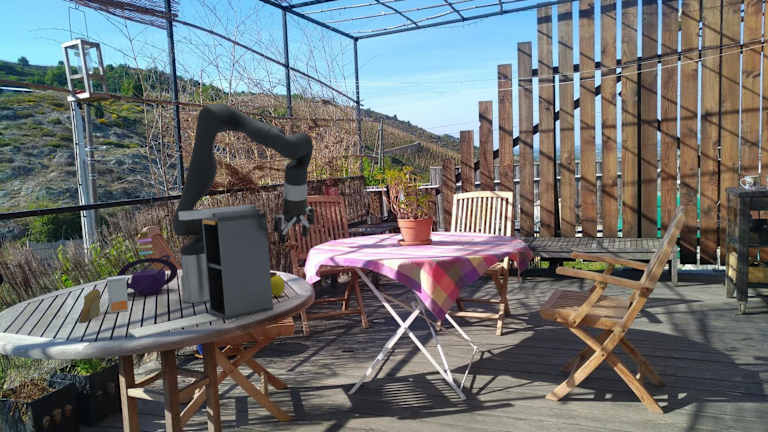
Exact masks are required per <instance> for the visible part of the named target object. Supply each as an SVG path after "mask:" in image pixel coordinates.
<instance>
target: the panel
mask: <svg viewBox="0 0 768 432" xmlns="http://www.w3.org/2000/svg"><path fill="white" fill-rule="evenodd" d="M254 209H257V205H255V204H247V205H236V206H235V205H234V206H226V207H225V206H224V207H215V208H205V209H204V208H203V209H201V210H194V209H193V210H191V211H181V212H178V213H179V220H191V219H200V218H210V217H215V213H224V212H234V211H244V210H254Z"/></svg>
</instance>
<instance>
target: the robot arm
mask: <svg viewBox="0 0 768 432" xmlns="http://www.w3.org/2000/svg"><path fill="white" fill-rule="evenodd" d="M196 121H197V122H196V129H195V137H194V142H193V147H192V152H191V157H190V161H189V164H188V167H187V173H186V176H185V180H184V184H183V189H182V192H181V196H180V197H179V201H178V204H177V206H176V209H175V212H174V215H173V218H172V229H173V232H174V234H175V235H177V236H178V237H188V236H189V237H190V236H192V238H191V239H190V241H189V242H187V243H185V244H184V245H182V246H181V247H180V258H181V269H182V274H181V275H180V283H181V285H180V286H181V297H182V302H185V303H189V304H195V303H203V302H207V301H209V295H208V283H207V271H206V260H205V248H204V236H203V225H202V218H200V219H191V220H179V213H178V212H181V211H191V210H202V209H201V208H195V207H196V205H197V204H198V202H199V201H201V199H203V197H205V195H207V194H208V193H209V191H210V190H211V189H212V187H213V185H214V182H215V179H216V176H217V171H218V163H217V159H216V157H215V154H214V145H215V141H216V137H217V135H218V134H219V133H221V134H222V133H225V132H228V131H229V132H238V133H242V134H244V135H246V136H247V137H248V138H249V140H251V141H253V142H254V143H256V144H257V145H260V146H262V147H265V148H268V149H270V150H271V149H272V150H273V151H274V152H276V153H277V154H279V155H280V156H281V157H283V158H285V159H289V160H290V161H289V162H288V163H287V164H286V165H285V166H284V184H283V189H282V190H283V191H282V192H283V199H282V200H283V201H282V202H283V203H282V208H283V213H282V214H275V215H274V217H273V218H274V219H273V220H274V221H273V232H275V233H276V234H278V241H279V242H280V243H281V244H282V245H286V242H287V231H288V230H290V229H291V227H292V226H295V225H299V224H301V236H302V237H303V238H304V239H305V238H308V236H309V227H310V226H312V225H314V224H315V208H313V207H312V206H309V205H308V169H309V166H310V163H311V159H312V156H313V150H314V143H313V139H312V137H311V136H310V135H309V134H308V133H306V132H297V133H295V134H292V135H286V131H285V130H284V129H283V128H281V127H278V126H276V125H272V124H269V123H267V122H264V121H261V120H258V119H256V118H253V117H251V116H249V115H247V114H246V113H243V112H241V111H240V110H238V109H236V108H235V107H233V106H231V105H229V104H227V103H215V104H208V105H205V106H203V107H202V108H201V109H200V111H199V112H198V116H197V120H196ZM305 217H306V218H305ZM286 223H287V224H286Z"/></svg>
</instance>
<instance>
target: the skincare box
mask: <svg viewBox="0 0 768 432" xmlns="http://www.w3.org/2000/svg"><path fill="white" fill-rule="evenodd" d="M126 281H127V276H126V274H125V275H124V276H117V275H116V276H109V277H106V285H107V287H106V288H107V296H108V297H107V299H108V307H109V308H108V309H109V314H113V313H121V312H129V310H130V309H129V308H130V307H129V300H128V299H129V298H128V297H129V296H127V293H128V290H127V285H126Z"/></svg>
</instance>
